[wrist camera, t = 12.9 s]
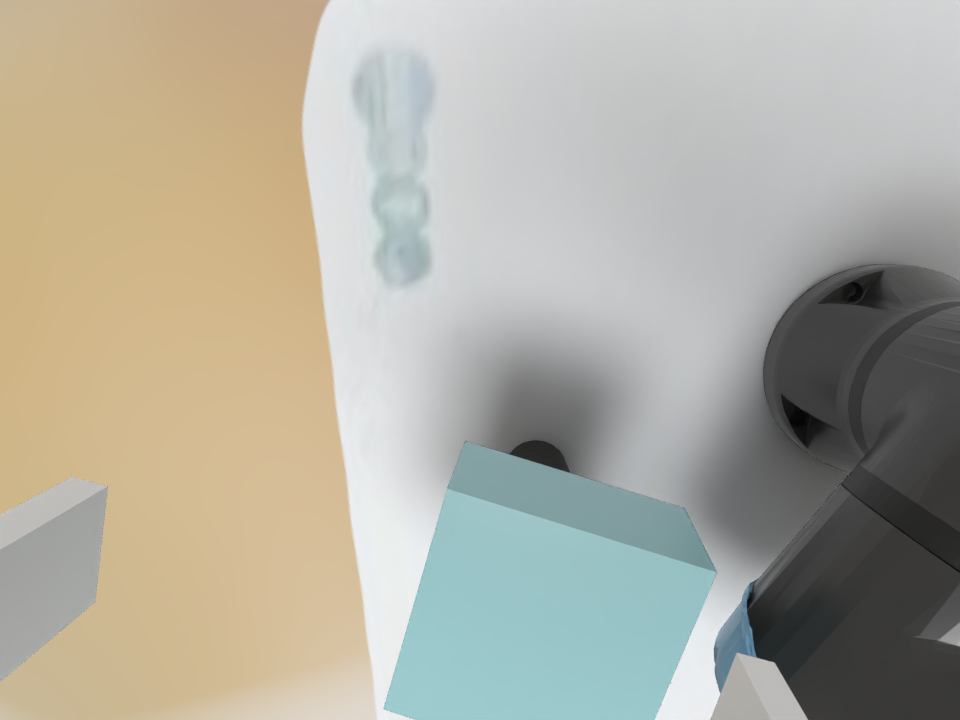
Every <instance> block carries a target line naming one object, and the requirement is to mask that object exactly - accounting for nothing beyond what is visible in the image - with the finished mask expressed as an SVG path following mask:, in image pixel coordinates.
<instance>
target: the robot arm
mask: <svg viewBox="0 0 960 720" xmlns="http://www.w3.org/2000/svg"><path fill="white" fill-rule="evenodd" d="M764 388H765V394H766V398H767V401H768V405H769V407H770V410H771V412H772V414H773V416H774V418H775V420H776V421H777V423H778V425H779V426H780V427H781V429H782V430H783V431H784V432H785V433H786V435H787V436H788V437H789V438H790V439H791V440H792V441H794V442H795V443H796V444H797V445H799V446H800V447H801V448H802V449H804V450H805V451H806V452H808V453H809V454H811V455H812V456H813V457H815V458H816V459H818V460H820V461H822V462H824V463H826V464H827V465H830V466H832V467H835V468H837V469H840V470H843V471H846V472H850V474H849V475H848V476H847V478H846V479H845V480H844V481H843V482H842V483H841V484H840V485H839V486H838V487H837V488H836V490H835V491H834V492H833V493H832V494H831V496H830V497H829V498H828V499H827V500H826V501H825V503H824V504H823V505H822V506H821V507H820V509H819V510H818V511H817V512H816V513H815V515H814V516H813V517H812V518H811V519H810V520H809V521H808V523H807V524H806V525H805V526H804V527H803V528H802V530H801V531H800V532H799V533H798V534H797V535H796V536H795V538H794V539H793V540H792V541H791V542H790V543H789V544H788V546H787V547H786V548H785V549H784V550H783V551H782V552H781V554H780V555H779V556H778V557H777V558H776V559H775V560H774V562H773V563H772V564H771V565H770V566H769V567H768V568H767V570H766V571H765V572H764V573H763V574H762V575H761V576H760V578H759V579H757V580H756V581H754V582H752V583H750V585H748V587H747V588H746V590H745V592H744V594H743V597H742V601H741V603H740V604H739V605H738V607H737V608H736V609H735V611H734V612H733V613H732V615H731V616H730V617H729V619H728V620H727V621H726V623H725V624H724V625H723V627H722V628H721V630H720V631H719V633H718V635H717V638H716V641H715V645H714V661H715V676H716V680H717V684H718V688H719V691H720V697H719V699H718V702H717V704H716V707H715V710H714V712H713V715H712V717H711V720H960V281H958V280H956V279H954V278H952V277H950V276H948V275H945V274H943V273H940V272H937V271H934V270H930V269H926V268H922V267H915V266H905V265H890V264H879V265H868V266H862V267H857V268H853V269H849V270H846V271H843V272H840V273H838V274H836V275H833V276H831V277H829V278H827V279H825V280H823V281H822V282H820V283H818V284H817V285H815V286H814V287H812V288H811V289H810V290H808V291H807V292H806V293H805V294H803V295H802V296H801V297H800V298H799V299H798V300H797V301H796V302H795V303H794V304H793V305H792V306H791V307H790V308H789V310H788V311H787V312H786V313H785V315H784V316H783V318H782V319H781V321H780V322H779V324H778V325H777V327H776V329H775V331H774V333H773V335H772V338H771V340H770V343H769V346H768V349H767V353H766V357H765V363H764ZM107 489H108V486H105V485H101V484H97V483H93V482H89V481H86V480H82V479H78V478H74V477H71V478H69V479H68V480H66V481H64V482H62V483H60V484H58V485H56V486H54V487H52V488H50V489H48V490H46V491H45V492H43V493H41V494H39V495H37V496H35V497H33V498H31V499H29V500H27V501H26V502H23V503H22V504H20V505H18V506H16V507H14V508H12V509H10V510H8V511H6V512H5V513H3V514H1V515H0V682H1V681H2V680H3V679H4V678H6V677H7V676H8V675H9V674H10V673H11V672H13V671H14V670H15V669H16V668H17V667H19V666H20V665H21V664H22V663H23V662H25V661H26V660H27V659H28V658H29V657H31V656H32V655H33V654H34V653H35V652H36V651H38V650H39V649H40V648H41V647H42V646H43V645H45V644H46V643H47V642H48V641H50V640H51V639H52V638H53V637H54V636H56V635H57V634H58V633H59V632H60V631H61V630H63V629H64V628H65V627H66V626H67V625H69V624H70V623H71V622H72V621H73V620H75V619H76V618H77V617H78V616H79V615H80V614H82V612H84V611H85V610H86V609H88V608H89V607H90V606H91V605H92V604H94V603H95V599H96V590H97V589H96V588H97V580H98V572H99V562H100V552H101V544H102V535H103V525H104V516H105V508H106V498H107Z"/></svg>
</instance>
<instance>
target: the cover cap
mask: <svg viewBox="0 0 960 720" xmlns="http://www.w3.org/2000/svg"><path fill="white" fill-rule="evenodd" d="M716 574H717V571H716V569H715V567H714V565H713V563H712V561H711V559H710V557H709V555H708V553H707V551H706V549H705V547H704V545H703V543H702V542H701V540H700V538H699V536H698V534H697V532H696V530H695V528H694V526H693V524H692V522H691V520H690V518H689V516H688V514H687V512H686V510H685V508H683V507H679V506H676V505H673V504H670V503H666V502H663V501H660V500H657V499H653V498H650V497H647V496H643V495H640V494H637V493H634V492H630V491H627V490H624V489H621V488H617V487H614V486H611V485H607V484H604V483H601V482H598V481H594V480H591V479H588V478H585V477H581V476H578V475H575V474H571V473H568V472H565V471H562V470H558V469H555V468H552V467H549V466H545V465H542V464H539V463H535V462H532V461H529V460H526V459H522V458H519V457H516V456H513V455H509V454H506V453H503V452H500V451H496V450H493V449H490V448H486V447H483V446H480V445H477V444H473V443H470V442H467V441H465V444H464V446H463V449H462V452H461V454H460V457H459V459H458V462H457V465H456V467H455V470H454V472H453V475H452V477H451V480H450V483H449V485H448V488H447V491H446V494H445V498H444V501H443V505H442V508H441V512H440V515H439V519H438V522H437V526H436V529H435V533H434V536H433V539H432V543H431V546H430V550H429V553H428V557H427V560H426V564H425V567H424V571H423V574H422V578H421V581H420V584H419V588H418V591H417V595H416V598H415V602H414V605H413V609H412V612H411V616H410V619H409V623H408V626H407V630H406V633H405V636H404V640H403V643H402V647H401V650H400V654H399V657H398V661H397V664H396V668H395V671H394V675H393V678H392V681H391V685H390V688H389V692H388V695H387V699H386V702H385V706H384V710H387V711H390V712H393V713H396V714H400V715H403V716H406V717H409V718H412V719H415V720H655V717H656V715H657V713H658V710H659V708H660V705H661V703H662V701H663V698H664V696H665V694H666V691H667V689H668V687H669V684H670V682H671V680H672V677H673V675H674V673H675V670H676V668H677V666H678V663H679V661H680V658H681V656H682V654H683V651H684V649H685V647H686V644H687V642H688V640H689V637H690V635H691V633H692V630H693V628H694V626H695V623H696V621H697V618H698V616H699V614H700V611H701V609H702V607H703V604H704V602H705V600H706V597H707V595H708V593H709V590H710V588H711V586H712V583H713V581H714V579H715V576H716Z"/></svg>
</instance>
